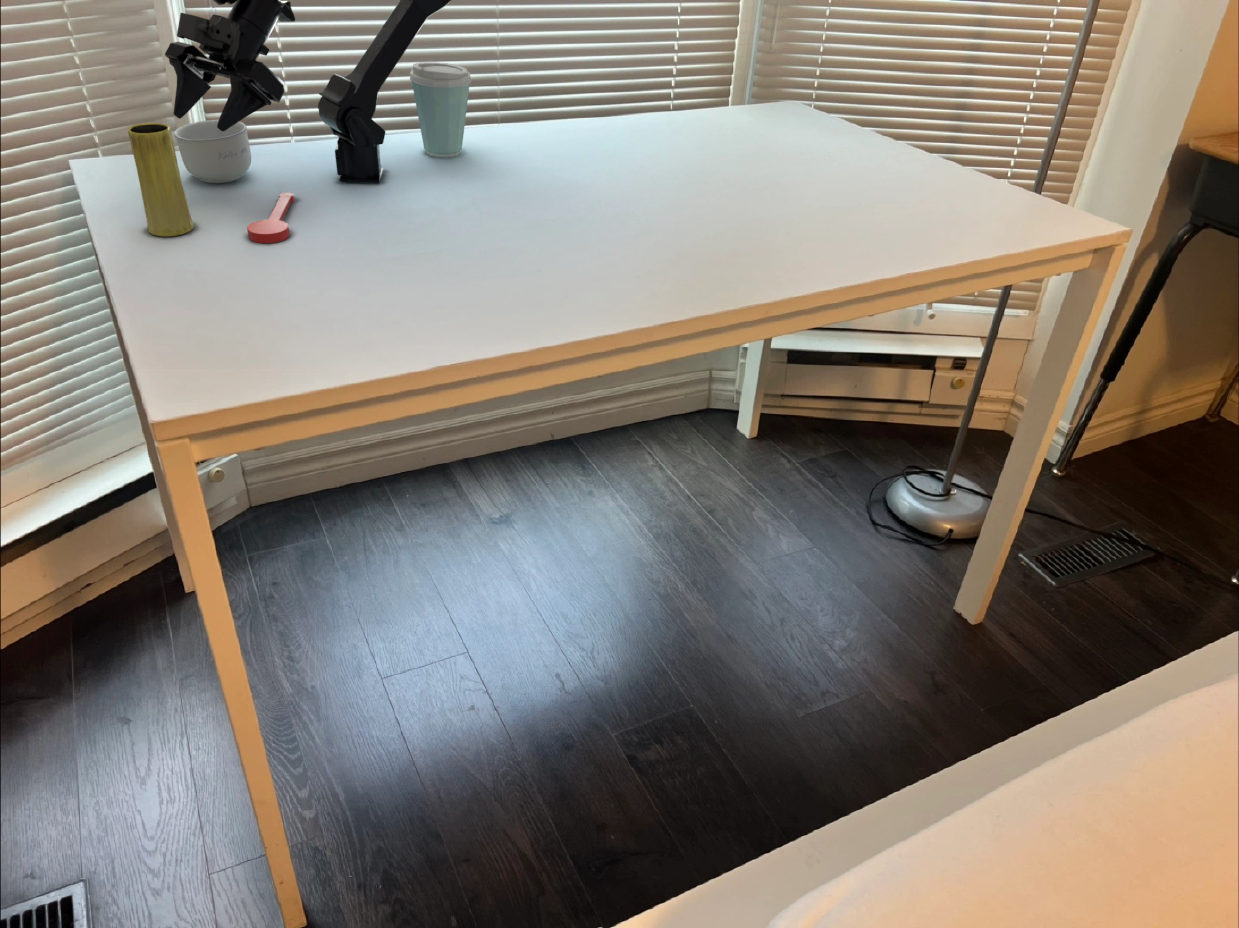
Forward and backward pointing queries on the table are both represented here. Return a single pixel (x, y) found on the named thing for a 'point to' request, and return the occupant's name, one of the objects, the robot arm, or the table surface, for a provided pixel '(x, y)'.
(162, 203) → the vase
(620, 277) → the table surface
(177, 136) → the teacup
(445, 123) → the disposable coffee cup
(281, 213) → the spoon
